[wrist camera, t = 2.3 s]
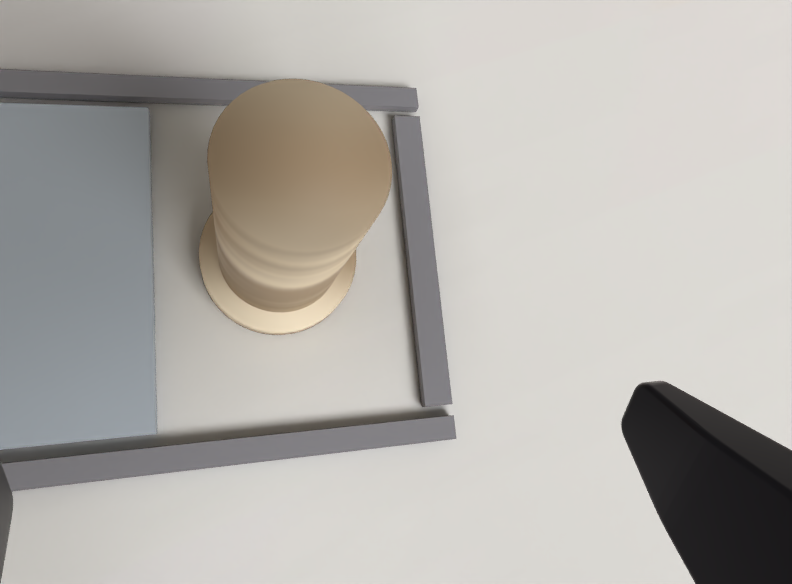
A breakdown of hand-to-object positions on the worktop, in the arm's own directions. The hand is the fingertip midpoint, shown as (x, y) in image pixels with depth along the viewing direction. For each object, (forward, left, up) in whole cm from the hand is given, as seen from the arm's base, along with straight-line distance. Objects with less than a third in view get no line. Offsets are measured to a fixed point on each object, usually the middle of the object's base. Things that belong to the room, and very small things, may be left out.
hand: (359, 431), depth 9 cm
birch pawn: (+6, 0, -12) cm, 14 cm away
